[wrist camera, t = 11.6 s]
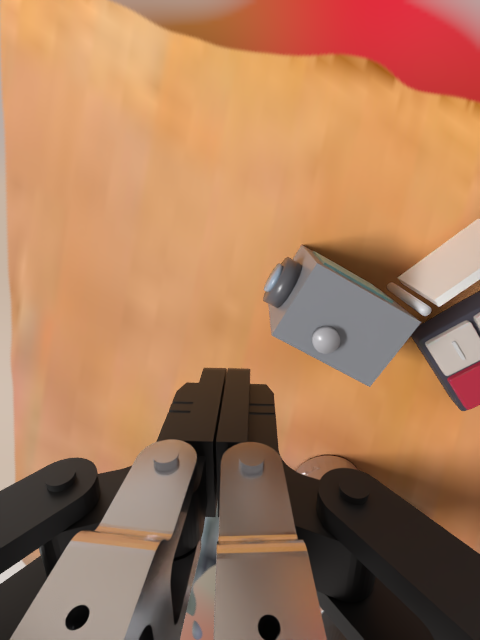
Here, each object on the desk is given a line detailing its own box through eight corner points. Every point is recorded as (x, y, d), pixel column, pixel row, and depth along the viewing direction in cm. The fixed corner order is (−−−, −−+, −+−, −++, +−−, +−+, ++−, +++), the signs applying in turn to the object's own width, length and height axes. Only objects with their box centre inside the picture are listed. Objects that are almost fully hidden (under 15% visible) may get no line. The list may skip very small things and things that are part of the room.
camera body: (393, 282, 37) (444, 316, 27) (348, 344, 40) (379, 395, 30) (293, 224, 36) (307, 237, 26) (253, 292, 38) (252, 328, 28)
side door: (405, 288, 36) (443, 313, 29) (397, 277, 36) (434, 300, 29) (485, 230, 34) (549, 241, 27) (477, 218, 34) (540, 226, 26)
